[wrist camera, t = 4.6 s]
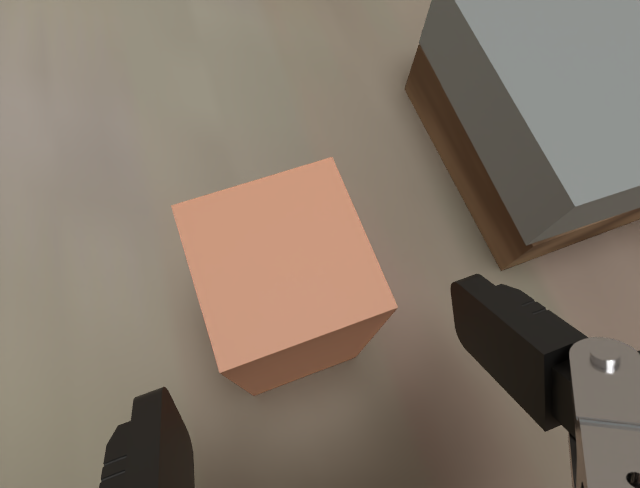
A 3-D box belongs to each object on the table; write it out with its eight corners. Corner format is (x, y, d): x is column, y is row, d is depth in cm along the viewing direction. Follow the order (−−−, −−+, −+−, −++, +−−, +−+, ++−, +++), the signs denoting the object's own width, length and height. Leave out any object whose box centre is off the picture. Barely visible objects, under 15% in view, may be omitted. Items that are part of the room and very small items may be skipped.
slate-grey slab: (526, 245, 21) (575, 206, 17) (418, 42, 25) (439, -26, 21) (745, 171, 23) (833, 122, 19) (613, -7, 26) (664, -77, 23)
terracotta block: (253, 395, 21) (219, 372, 12) (222, 294, 23) (171, 205, 14) (355, 357, 22) (397, 307, 13) (318, 262, 24) (332, 156, 14)
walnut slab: (497, 273, 24) (533, 246, 21) (402, 94, 28) (418, 44, 25) (683, 204, 26) (746, 168, 23) (571, 46, 30) (609, -8, 27)
